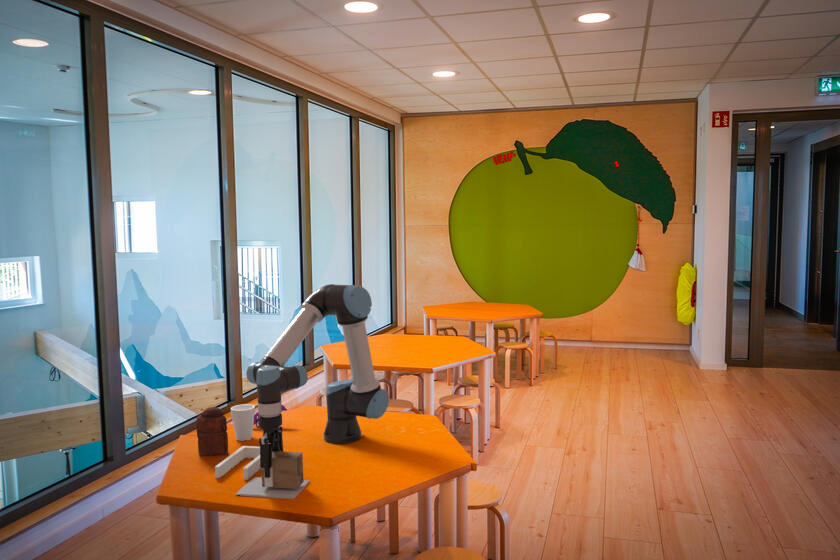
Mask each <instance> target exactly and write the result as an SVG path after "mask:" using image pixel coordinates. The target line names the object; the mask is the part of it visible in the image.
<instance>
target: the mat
mask: <svg viewBox="0 0 840 560" xmlns="http://www.w3.org/2000/svg"><path fill="white" fill-rule="evenodd" d="M310 482H311V481H310V480H309V479H304V482H303V483H302V484H301V485H300V486H299V487H298V488H297V489H290V488H274V487H262V477H258V476H257V477H256V476H255V477H253V478H252V479H250V480H249V481H248V482H247V483H246V484H245V485H244V486H243V487H241V488H240V489H239V490H238V491H237V492H236V493H235V496H237V495H240V496H239V497H255V498H270V499H271V498H272V499H285V500H286V499H287V500H289V499H290V500H295V498H297V496H298V495H299V494H301V492H302V491H303V490H304V489H305V488H306V486H308V484H309V483H310Z"/></svg>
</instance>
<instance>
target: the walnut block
mask: <svg viewBox="0 0 840 560" xmlns="http://www.w3.org/2000/svg"><path fill="white" fill-rule="evenodd" d="M303 457H304V456H303V452H299V451H283V452H282V451H272V462H271V467H273V487H274V488H290V489H297V488H298V487H299V486H300V485H301V484H302V483H303V482H304V480H305V479H304V462H303V461H304V460H303V459H304V458H303ZM260 471H261V478H262V487H265V481H264V468H261V469H260Z"/></svg>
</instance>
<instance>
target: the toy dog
mask: <svg viewBox="0 0 840 560" xmlns="http://www.w3.org/2000/svg"><path fill="white" fill-rule="evenodd" d="M281 405H282V412H283V411H285V412H286V411H288V409H287V407H286V406H285V405H283V404H282V403H281ZM258 417H259V413H258V411H257V412H255V413H254V424H253V426H254V425H255V427H256V428H259V429H261V430H263V428H261V427H259V418H258Z"/></svg>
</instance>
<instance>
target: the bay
mask: <svg viewBox="0 0 840 560" xmlns="http://www.w3.org/2000/svg"><path fill="white" fill-rule="evenodd" d="M245 459H253V460H251V461H250V462H249V463H248V464H247V465H245V466H244V467H242V470H243V472H242V473H243V474H242V475H243V480H244V481H245V480H246V481H247V480H250V478H252V477H253V476H254V475H256V474H257V472H259V471H260V470H261V468H260V446H256V445H255V446H253V445H252V446H251V445H250V446H249V445H242V446H241V447H239V448H238V449H237V450H235V451H234V452H233V453H231V454H230V455H228V456H227V457H226V458H225V459H223V460H222V461H221V462H219V463H218V464H217V465H215V466H214V472H215V473H214V475H215V476H214V477H215V478H216V479H221V478H222V477H223V476H224V475H225V474H226V473H228V472H229V471H230V470H232V469H233V468H234V467H236V466H237V465H238V464H240V463H241V462H242V461H243V460H245ZM240 461H241V462H240ZM235 465H236V466H235ZM231 468H232V469H231ZM259 469H260V470H259Z"/></svg>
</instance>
